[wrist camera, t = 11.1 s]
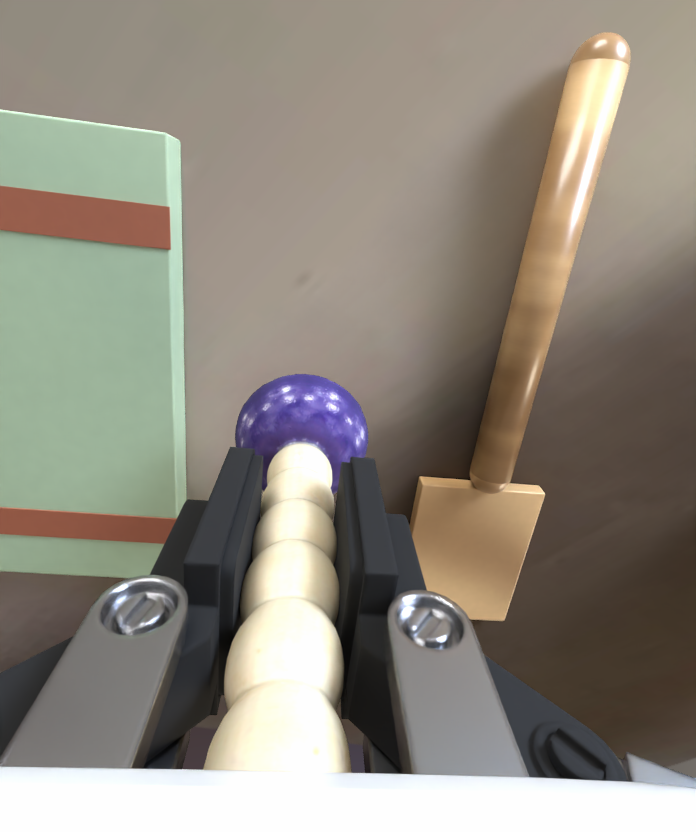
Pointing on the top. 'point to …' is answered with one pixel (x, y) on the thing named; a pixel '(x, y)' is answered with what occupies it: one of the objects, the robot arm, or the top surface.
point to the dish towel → (89, 346)
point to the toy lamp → (291, 585)
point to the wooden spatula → (521, 358)
